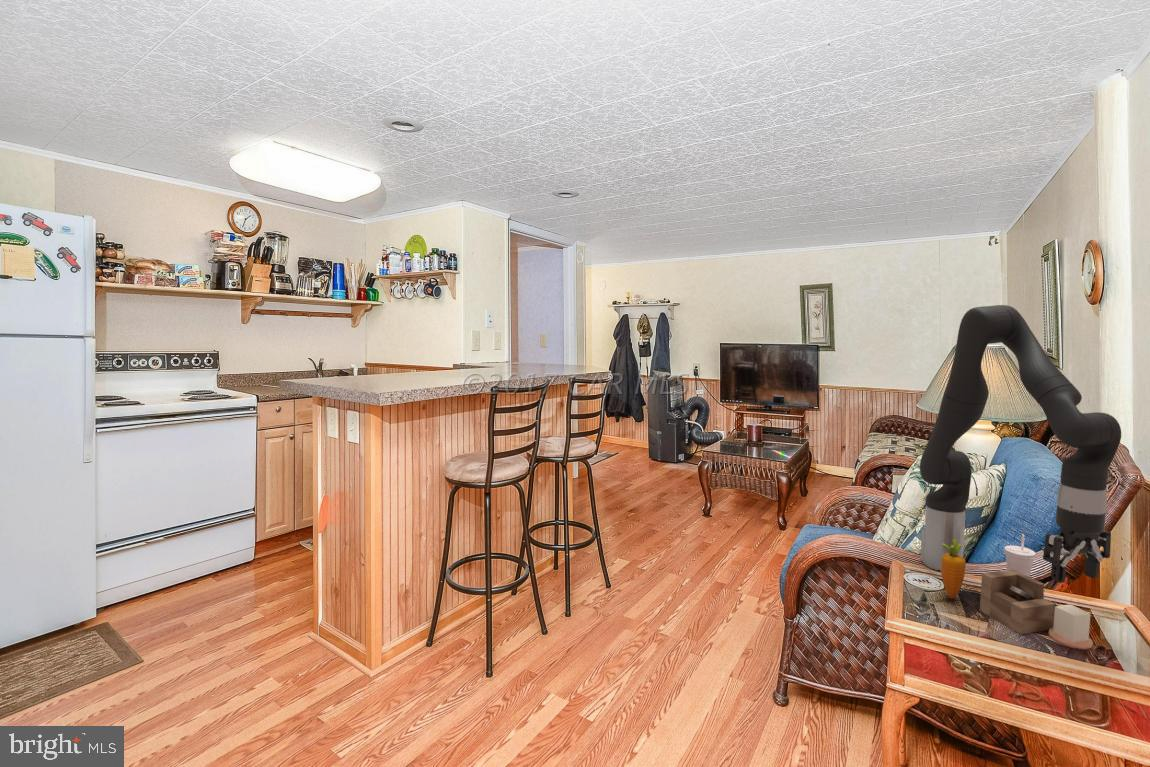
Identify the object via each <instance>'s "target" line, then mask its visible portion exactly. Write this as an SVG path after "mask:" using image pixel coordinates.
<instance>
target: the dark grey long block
mask: <svg viewBox="0 0 1150 767" xmlns="http://www.w3.org/2000/svg"><path fill="white" fill-rule="evenodd" d="M1010 590H1012V591H1013V592H1015V593H1017V594H1018V595H1020V596H1021V597H1023V598H1024V599H1026V601H1028V600H1033V597H1032V596H1030V595H1028V594H1027V593H1025V592H1024V591H1022V590H1020V589H1018V588H1016V587H1014V586H1012V585H1011V587H1010ZM1043 599H1045V598H1044V597H1043ZM1045 600H1047V601H1049V600H1048V599H1045ZM1054 604H1055V606H1059V605H1058V604H1056V603H1054ZM1055 606H1054V614H1055Z"/></svg>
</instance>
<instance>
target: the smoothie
mask: <svg viewBox="0 0 1150 767" xmlns="http://www.w3.org/2000/svg"><path fill="white" fill-rule="evenodd" d="M1020 540H1021V543H1020V544H1021V545H1020V546H1019V545H1010V544H1009V545H1006V546H1004V548H1003V552H1004V554H1005V559H1006V560H1005V561H1006V570H1010V569H1013V570H1015V571H1017V572H1019V573H1021V574H1024V575H1026V576H1028V577H1030V578H1031V571H1032V568H1033V564H1034V559H1036V557H1037V556H1036V555H1037V553H1036V551H1034V550H1033V549H1030V548H1028V547H1025V534H1024V533H1021V539H1020Z"/></svg>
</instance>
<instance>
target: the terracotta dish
mask: <svg viewBox="0 0 1150 767" xmlns="http://www.w3.org/2000/svg"><path fill="white" fill-rule="evenodd" d="M1053 629H1054V626H1053V628H1050V629H1049V630H1048V636H1049V638H1050V639H1052V640H1053V641H1055V642H1056V643H1058V644H1061V645H1063V646H1065V645H1066V646H1065V647H1069V648H1072V649H1076V648H1077V649H1076V650H1089V649H1088V648H1090V647H1092V646H1093V645H1094V642H1093V640H1092V639H1091V638H1090V637H1089V640H1088V641H1081V642H1074V643H1072V642H1071V641H1069V640H1067V639H1065V638H1063V637H1061V636H1059V635H1057V634H1056V633H1054V632H1053ZM1092 648H1093V647H1092Z"/></svg>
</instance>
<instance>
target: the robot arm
mask: <svg viewBox="0 0 1150 767" xmlns="http://www.w3.org/2000/svg"><path fill="white" fill-rule="evenodd" d="M957 333H958V334H957V339H956V345H955V352H954V358H953V361H952V364H951V370H950V372H949V377H948V380H947V382H946V386H945V389H944V393H943V395H942V399H941V403H940V406H939V410H938V413H937V417H936V420H935V424H934V425H933V429H932V432H931V434H930V437H929V439H928V441H927V444H926V446H925V447H924V450H923V453H922V456H921V458H920V462H919V472H920V473H919V474H920V476H921V478H922V480H923V481H924V482H925V483H928V484H930V485H938V486H939V485H942V486H941V487H939V488H938V489H936V490H934V491H932V492H930V493H928V494H927V495H925V496H926V497H925V512H924V514H925V515H924V528H921V538H920V539H921V540H920V541H921V542H920V561H922V562H923V564H924V565H925V566H926V567H927V568H930V569H932V570H934V569H935V571H937V570H940V571H939V572H942V570H941V559H942V556H943V555H944V554H946V553H949V551H948V550H947V549H946V548H945V547H944V546H942V544H946V545H947V546H948V547H949V548H950V547H951V546H952V545H953V540H954V539H955V540H957V543H958V544H960V545H961V548H960V550H959V551H958V553H957V555H960V556H961V557H963V558H964V549H965V546H964V545H965V525H966V524H965V523H966V507H967V506H966V505H967V504H968V502H969V499H970V498H969V497H970V489H971V483H972V482H971V481H972V464H971V461H970V459H969V457H968V455H967V454H966V453H965V452H963V451H960V450H952V448H953V446H954V445H955V443H956V442H957V441H959V439H960V438H961V437H962V436H964V435H965V434H966V433H967V432H969V431H970V429H972V428H973V427H974V426H975V425H976V424H977V423H978V421H979V420H980V419H981V417H982V416H983V413H984V410H985V407H986V404H987V401H988V399H989V386H988V384H987V381H986V378H985V376H984V373H983V370H982V369H983V368H982V363H983V358H984V354H985V351H986V349H987V346H988V345H991V344H992V345H993V344H1000V343H1001V344H1003V345H1004V346H1006V348H1008V349H1009V350H1010V351H1011V352H1012V353H1013V355H1014V356H1015V358H1016V360H1017V364H1018V370H1019V371H1018V372H1019V376H1020V381H1021V383H1022V385H1023V386H1024V388H1025V389H1026V390H1025V391H1027V392H1028V394H1029V395H1030V396H1031V397H1032V398H1033V399H1034V400H1035V401H1036V403H1037V404H1038V405H1039V406H1040V407H1041V408H1042V410H1043V412H1044V415H1045V418H1046V419H1047V422H1048V424H1049V426H1050V429H1051V431H1052V433H1053V434H1054V435H1055V437H1056V438H1057V439H1058V440H1059V441H1060V442H1061V443H1063V444H1065V445H1066V446H1067V447H1071V448H1075V449H1077V450H1076V451H1075V453H1073V454H1072V455H1069V456H1068V457H1066V458H1064V459H1063V461H1062V464H1061V470H1060V481H1059V482H1060V483H1059V487H1058V490H1057V497H1056V498H1057V501H1056V513H1055V523H1056V525H1057V526H1058V527H1059V528H1060V529H1059V533H1058V534H1056V535H1055V534H1052V533H1050V532H1049V533H1046V535H1045V539H1044V547H1043V554H1042V560H1044V561H1046V562H1048V563H1050V564H1051V569H1050V570H1051V571H1050V577H1051V579H1052V580H1053V581H1055V582H1056V583H1057V582H1058V583H1059V584H1062V583H1063V584H1064V583H1066V576H1067V575H1066V572H1067V565H1068V563H1069V561H1070V560H1074V559H1075V557H1076V556H1077V555H1081V554H1084V555H1085V557H1086V558H1085V559H1084V569H1083V574H1084V575H1085V576H1086V577H1089V578H1091V579H1098V578H1099V573H1100V567H1101V566H1100V565H1101V564H1100V563H1102V562H1103V561H1104V559H1110V556H1111V545H1112V544H1111V543H1112V533H1111V532H1110V531H1108V530H1105V524H1106V515H1107V514H1106V513H1107V503H1108V502H1107V501H1108V497H1107V483H1108V476H1109V475H1108V473H1109V472H1108V471H1109V468H1110V466H1111V464H1112V462H1113V460H1114V458H1115V456H1116V454H1117V451H1118V448H1119V447H1120V443H1121V439H1122V429H1121V425H1120V424H1119V422H1118V420H1117V419H1116V418H1115V417H1114V416H1113V415H1111V414H1109V413H1106V412H1099V411H1098V412H1096V411H1095V412H1085V413H1084V412H1083V413H1082V412H1081V411H1080V410H1079V409H1078V407H1077V406H1078V405H1079V404H1081V402H1082V398H1083V397H1082V394H1081V392H1080V391H1079V389H1078V388H1077V387H1076V386H1075V385H1074V384H1073V382H1071V381H1070V380H1069V379H1068V378H1067V377H1066V376H1065V375H1064V374H1063V373H1062V372H1061V370H1060V369H1059V368H1058V367H1057V366H1056V365H1055V364H1054V362H1053V361H1052V360H1051V359H1050V357H1049V356H1048V355H1047V353H1046V352H1045V350H1044V348H1043V347H1042V345H1041V344H1040V342H1039V341H1038V339H1037V337H1036V336H1035V334H1034V333H1033V331H1032V330H1031V328H1030V326H1029V325H1028V323H1027V322H1026V320H1025V318H1024V317H1023V316H1022V315H1021V313H1020V312H1019V311H1018V310H1017V309H1016V308H1014V307H1013V306H1011V305H1008V304H997V305H987V306H983V305H982V306H976V307H972V308H970V309H969V310H967V311H966V312H965V313H964V315H963V316H962V319H961V321H960V324H959V328H958V332H957ZM1101 547H1102V548H1103V549H1102V550H1101ZM1063 549H1064V550H1063ZM1051 553H1052V554H1051ZM1061 556H1062V558H1061Z"/></svg>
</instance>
